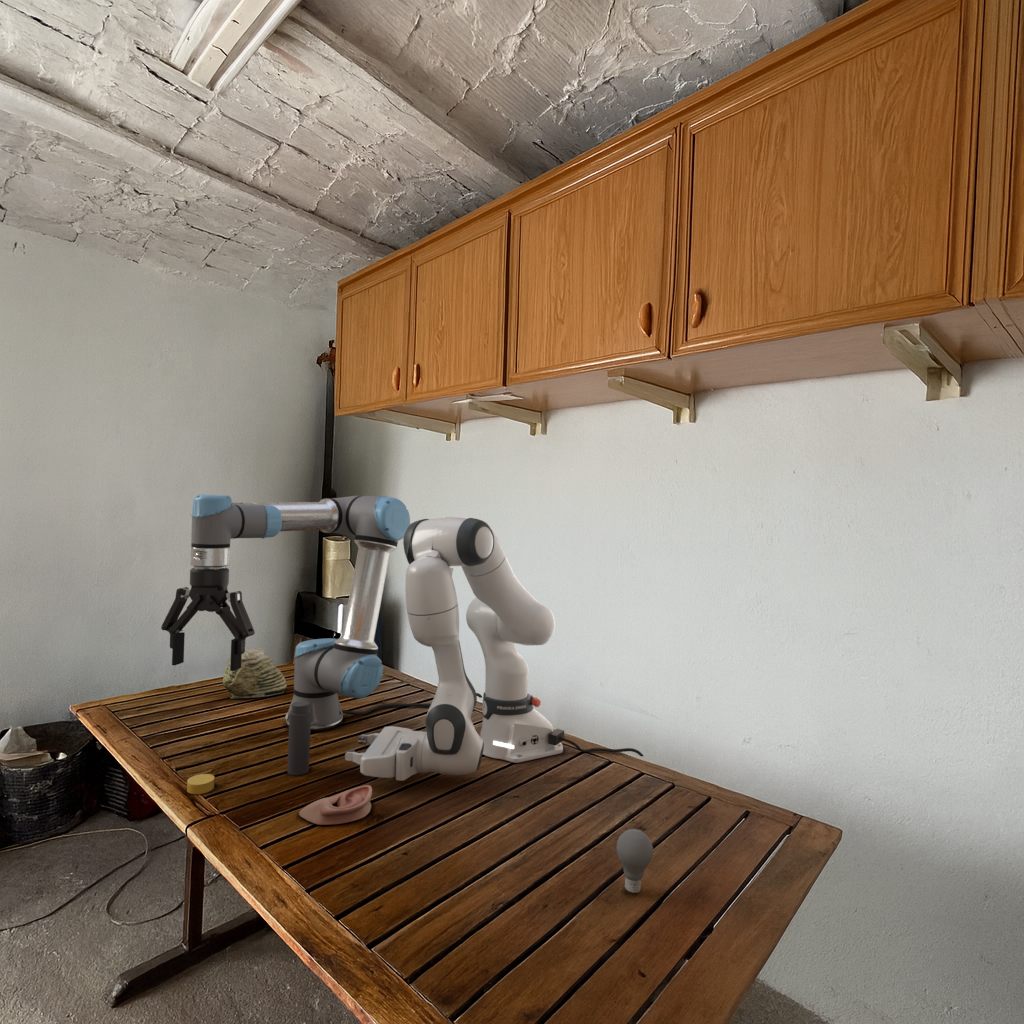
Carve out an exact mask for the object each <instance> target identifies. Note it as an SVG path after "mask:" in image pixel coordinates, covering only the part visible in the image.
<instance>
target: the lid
mask: <svg viewBox="0 0 1024 1024" xmlns="http://www.w3.org/2000/svg"><path fill="white" fill-rule="evenodd" d="M215 779H216V778H215V775H214V774H211V773H199V774H196V775H193V776H191V777H189V778H187V781H186V792H187V793H188V794H190V795H203V794H206V793H209V792H211V791H213V790H214V789H215Z"/></svg>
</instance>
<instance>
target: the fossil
mask: <svg viewBox="0 0 1024 1024" xmlns="http://www.w3.org/2000/svg"><path fill="white" fill-rule="evenodd" d="M230 663H231V656H230V657H229V659H228V660H227V663H226V666H225V668H224V671H223V675H222V676H223V677H222V685H223V687H224V688H225V690H226V691H228V693H229V698H230V699H250V698H264V697H271V696H275V695H281V694H284V693H285V691H286V689H287V687H288V686H287V680H286V678H285V676H284V674H283V673H282V672H281V669H279V668H278V667H277V665H276V663H275V662H274V660H273V659H272V658H271V657H270V656H269V655H268V654H267V653H266V652H265V650H264V649H263V648H260V647H258V648H251V647H247V646H245V652H244V653H243V654H242V656H241V668H239V669H237V670H235V671H230Z"/></svg>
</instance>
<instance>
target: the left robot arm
mask: <svg viewBox="0 0 1024 1024" xmlns="http://www.w3.org/2000/svg"><path fill="white" fill-rule="evenodd" d="M191 508H192V509H191V514H190V517H191V534H190V535H191V536H190V538H191V540H190V543H191V544H190V566H192V567H191V569H189V585H190V588H189V587H188V586H185V587H179V588H177V589H176V591H175V598H174V600H173V603H172V604H171V607H170V608H169V610H168V613H167V614H166V615H165V618H164V620H163V622H162V624H161V627H160V629H161V630H162V631H166V632H168V633H169V648H170V649H171V650H172V651H171V652H172V653H171V666H178V665H180V664H183V663H184V661H185V638H186V636H185V634H186V632H185V631H184V628H185V627H186V626H187V625H188V623H189V622H190V621H191V620H192V619H193V617H194V616H195V615H196V614H197V613H198V612H205V611H206V612H208V613H213V612H215V614H216V615H218V616H219V617H220V619H221V620H222V622H223V623H224V624H225V626H226V627H227V629H228V630H229V632H230V633H231V634H232V636H233V639H231V640H230V657H231V663H230V671H235V670H237V669H239V668H241V656H242V654H243V653H244V652H245V647H246V640H247V638H249V637H251V636H253V635H255V633H256V632H255V629H254V626H253V623H252V621H251V619H250V617H249V614H248V611H247V609H246V607H245V605H244V602H243V593H242V591H241V590H236V591H233V592H229V590H228V586H229V583H230V569H229V568H228V566H229V565H230V561H231V539H232V540H235V539H266V538H273V537H276V536H277V535H278V534H279V533H280V532H297V531H299V532H300V531H320V532H322V533H325V534H342V535H348V536H353V537H354V543H355V544H356V546H357V548H358V550H357V555H356V560H355V566H354V570H353V575H352V580H351V586H350V591H349V597H348V601H347V606H346V612H345V616H344V622H343V627H342V632H341V636H339V638H331V637H329V638H317V639H316V638H315V639H308V640H304V641H301V642H299V643H298V644H297V645H296V646H295V652H294V656H293V658H294V670H293V671H294V672H293V695H292V696H293V697H292V699H291V702H290V704H289V708H288V711H287V712H286V714H285V716H284V718H285V726H286V728H287V729H289V714H290V711H291V710H292V704H293V703H294V702H298V701H306V702H309V709H310V710H311V729H310V733H316V732H325V731H329V730H332V729H335V728H337V727H339V726H340V725H342V723H343V722H344V715H352V716H364V715H367V714H369V713H371V712H374V711H376V710H379V709H383V708H384V709H385V708H398V707H401V708H411V707H413V708H414V707H415V708H416V707H422V708H429V707H430V705H431V703H423V702H422V703H419V702H418V703H413V702H411V703H408V702H407V703H405V702H403V703H402V702H401V703H395V702H394V703H382V704H377V705H374V706H373V707H371V708H369V709H367V710H366V709H365V710H363V711H354V710H345V709H342V706H341V702H340V699H339V695H340V696H343V697H345V698H352V699H365V698H367V697H368V696H369V695H371V694H372V693H373V692H374V691H375V690H376V689H377V688H378V687H379V685H380V684H381V681H382V678H383V675H384V665H383V663H382V662H383V661H382V660H381V658H379V656H378V651H379V647H378V645H377V644H376V642H375V637H376V631H377V625H378V621H379V614H380V610H381V604H382V600H383V594H384V590H385V589H384V587H385V583H386V577H387V573H388V566H389V562H390V556H391V553H392V552H394V551H396V550H397V548H398V543H399V541H401V540H404V535H405V532H406V530H407V528H408V526H409V525H410V524H411V516H410V512H409V510H408V509H407V506H406V504H405V503H404V502H403V501H402V500H401V499H398V498H397V497H392V496H385V495H382V496H380V495H379V496H378V495H351V496H343V497H342V496H341V497H332V498H331V497H330V498H327V497H326V498H322V499H320V500H319V501H291V502H289V501H285V502H283V501H278V502H277V501H276V502H275V501H274V502H273V501H271V502H270V501H267V502H265V501H264V502H263V501H262V502H257V501H256V502H233V499H232V497H231V496H230V495H225V494H224V495H223V494H196V495H195V496H194V497H193V500H192V507H191ZM189 598H190V599H191V602H189V604H188V605H187V606H186V604H187V601H188V599H189ZM227 601H228V602H227ZM228 603H230V605H229V604H228ZM185 606H186V609H185V610H184V612H183V609H184V607H185ZM231 609H232V610H231ZM232 611H233V612H232ZM183 631H184V632H183ZM476 695H477V698H479V699H483V695H482V694H481V693H478V692H476Z"/></svg>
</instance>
